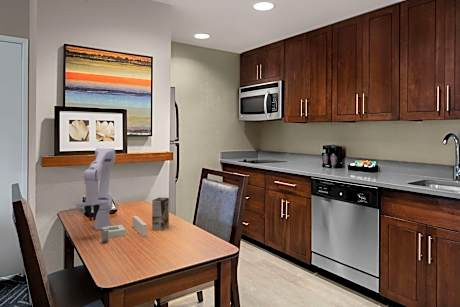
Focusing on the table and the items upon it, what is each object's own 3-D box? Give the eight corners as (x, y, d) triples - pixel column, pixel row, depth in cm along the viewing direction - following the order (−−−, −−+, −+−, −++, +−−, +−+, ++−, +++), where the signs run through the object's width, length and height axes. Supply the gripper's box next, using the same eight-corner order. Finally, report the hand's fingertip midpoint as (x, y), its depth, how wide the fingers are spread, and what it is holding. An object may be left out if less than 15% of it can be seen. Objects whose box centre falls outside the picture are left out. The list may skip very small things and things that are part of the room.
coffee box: (162, 230, 176) (162, 200, 175) (151, 229, 177) (151, 200, 176) (169, 225, 185) (169, 197, 184) (158, 225, 186) (158, 197, 185)
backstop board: (132, 226, 182) (132, 216, 182) (136, 226, 183) (136, 215, 183) (142, 236, 165) (142, 224, 165) (146, 236, 166) (146, 224, 166)
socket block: (101, 232, 170) (101, 227, 170) (121, 230, 175) (121, 224, 175) (105, 238, 162) (104, 232, 162) (125, 235, 167) (125, 229, 167)
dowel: (101, 241, 157) (101, 229, 156) (107, 240, 158) (107, 228, 158) (102, 243, 154) (102, 231, 154) (108, 242, 156) (108, 230, 155)
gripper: (76, 196, 155) (77, 224, 156) (109, 193, 162) (109, 220, 163) (75, 193, 161) (75, 220, 162) (106, 191, 168) (106, 217, 169)
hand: (92, 220), depth 163 cm, fingers closed
